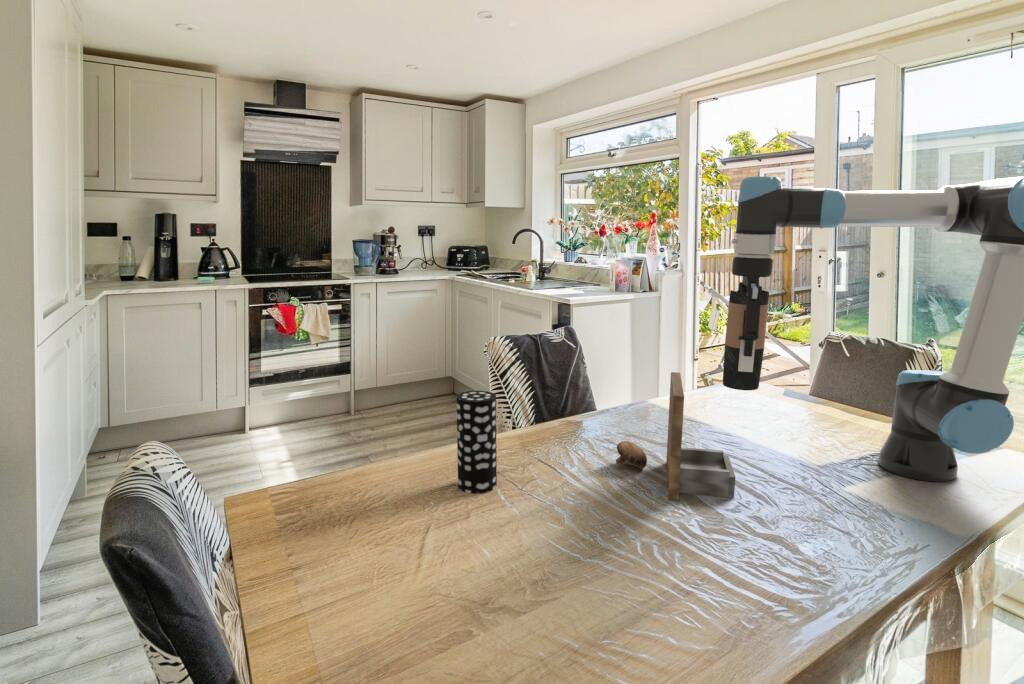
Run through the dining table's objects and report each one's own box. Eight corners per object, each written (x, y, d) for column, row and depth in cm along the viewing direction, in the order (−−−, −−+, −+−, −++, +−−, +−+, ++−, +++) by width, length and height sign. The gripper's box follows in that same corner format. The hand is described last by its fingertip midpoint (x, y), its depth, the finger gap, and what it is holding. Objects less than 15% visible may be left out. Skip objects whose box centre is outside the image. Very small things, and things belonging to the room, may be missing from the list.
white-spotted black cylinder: (503, 481, 135) (502, 393, 131) (485, 496, 127) (484, 403, 123) (469, 475, 138) (468, 388, 134) (450, 489, 131) (448, 398, 127)
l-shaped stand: (725, 467, 142) (731, 375, 138) (736, 505, 123) (744, 399, 119) (666, 462, 145) (671, 372, 141) (668, 499, 126) (673, 395, 122)
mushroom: (604, 456, 140) (621, 434, 140) (611, 457, 148) (627, 436, 148) (632, 479, 137) (649, 456, 137) (638, 479, 145) (654, 458, 144)
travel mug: (763, 392, 124) (773, 293, 121) (723, 389, 126) (732, 292, 122) (756, 382, 132) (765, 289, 128) (719, 380, 133) (727, 288, 129)
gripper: (727, 253, 134) (718, 355, 139) (740, 258, 115) (729, 377, 119) (764, 254, 133) (753, 357, 137) (783, 259, 113) (770, 380, 117)
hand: (742, 366), depth 128 cm, fingers closed on travel mug, 8 cm apart
